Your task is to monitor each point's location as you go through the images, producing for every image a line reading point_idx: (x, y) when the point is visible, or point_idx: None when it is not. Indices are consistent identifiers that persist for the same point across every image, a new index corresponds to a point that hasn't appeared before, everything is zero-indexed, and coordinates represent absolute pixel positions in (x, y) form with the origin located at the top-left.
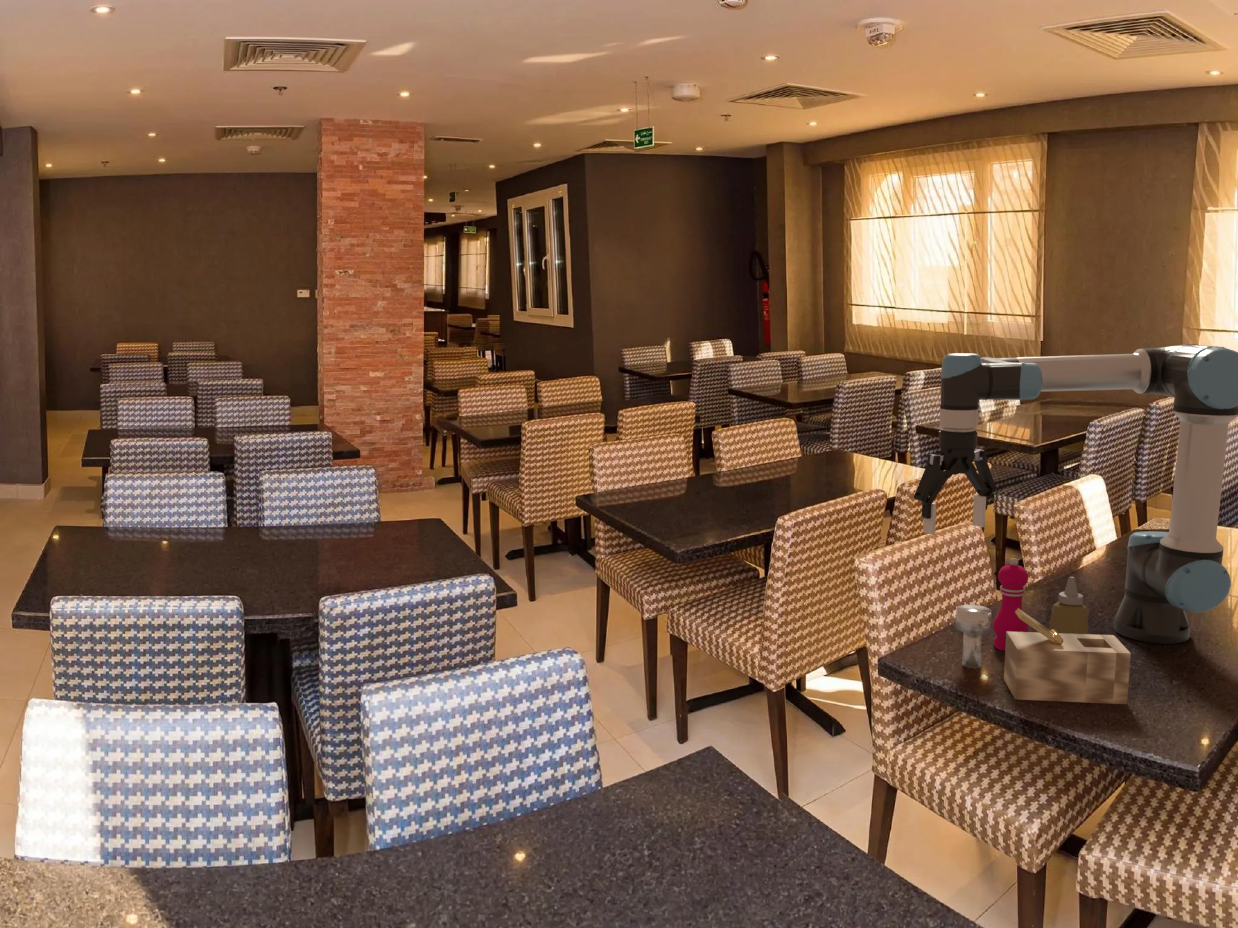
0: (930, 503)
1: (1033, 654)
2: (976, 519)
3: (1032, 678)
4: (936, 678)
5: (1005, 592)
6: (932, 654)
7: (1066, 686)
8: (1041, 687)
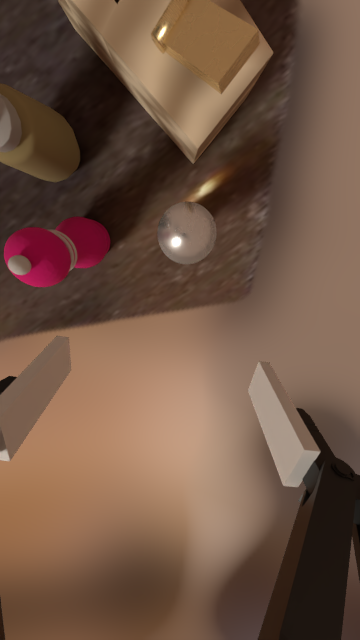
0: (335, 458)
1: None
2: (61, 370)
3: None
4: (255, 224)
5: (74, 253)
6: (191, 280)
7: None
8: None
